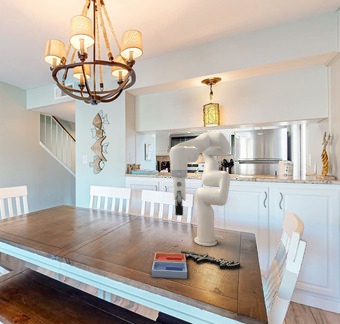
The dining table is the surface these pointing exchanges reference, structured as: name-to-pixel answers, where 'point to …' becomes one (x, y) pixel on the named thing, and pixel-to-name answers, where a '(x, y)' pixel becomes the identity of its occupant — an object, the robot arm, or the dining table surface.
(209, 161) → the robot arm
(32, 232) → the dining table surface
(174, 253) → the red bin
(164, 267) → the blue spoon
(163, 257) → the red spoon
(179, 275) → the blue bin
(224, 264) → the nameplate
